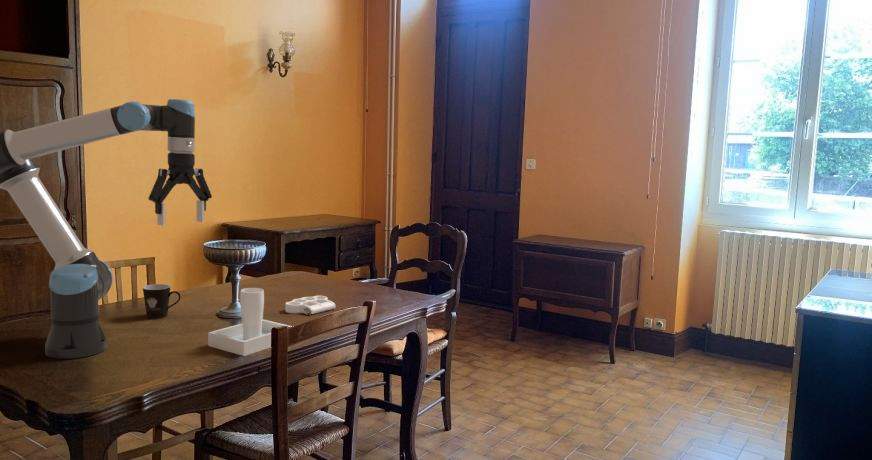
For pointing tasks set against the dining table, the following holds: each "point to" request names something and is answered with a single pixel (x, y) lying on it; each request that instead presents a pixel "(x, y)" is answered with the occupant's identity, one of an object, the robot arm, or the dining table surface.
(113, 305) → the dining table surface
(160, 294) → the coffee mug
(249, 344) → the white shallow tray
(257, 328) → the drinking glass
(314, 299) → the white flat molded slab
